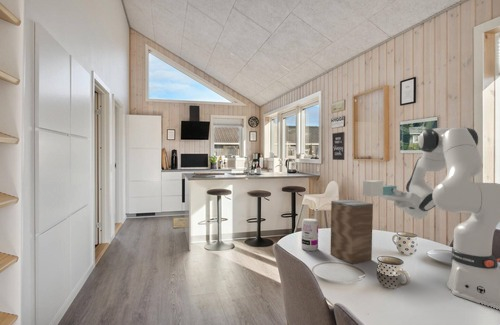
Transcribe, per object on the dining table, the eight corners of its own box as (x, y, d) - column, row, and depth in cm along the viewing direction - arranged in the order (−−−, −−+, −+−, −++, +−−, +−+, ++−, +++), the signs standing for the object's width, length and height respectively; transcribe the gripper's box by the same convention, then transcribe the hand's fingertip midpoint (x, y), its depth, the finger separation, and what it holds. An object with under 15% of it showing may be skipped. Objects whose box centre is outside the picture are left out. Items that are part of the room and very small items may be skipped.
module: (398, 194, 150) (398, 180, 150) (371, 196, 142) (371, 181, 142) (389, 192, 155) (389, 179, 154) (362, 194, 146) (363, 180, 146)
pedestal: (371, 260, 137) (372, 203, 136) (352, 264, 132) (353, 205, 131) (349, 250, 149) (350, 199, 149) (330, 254, 144) (331, 200, 143)
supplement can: (316, 246, 156) (317, 218, 155) (318, 251, 148) (319, 221, 147) (301, 245, 157) (301, 217, 156) (302, 251, 149) (302, 221, 148)
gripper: (389, 193, 166) (374, 181, 161) (424, 198, 148) (409, 185, 142) (385, 203, 165) (369, 191, 159) (420, 209, 147) (404, 197, 141)
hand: (388, 189), depth 151 cm, fingers closed on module, 3 cm apart
